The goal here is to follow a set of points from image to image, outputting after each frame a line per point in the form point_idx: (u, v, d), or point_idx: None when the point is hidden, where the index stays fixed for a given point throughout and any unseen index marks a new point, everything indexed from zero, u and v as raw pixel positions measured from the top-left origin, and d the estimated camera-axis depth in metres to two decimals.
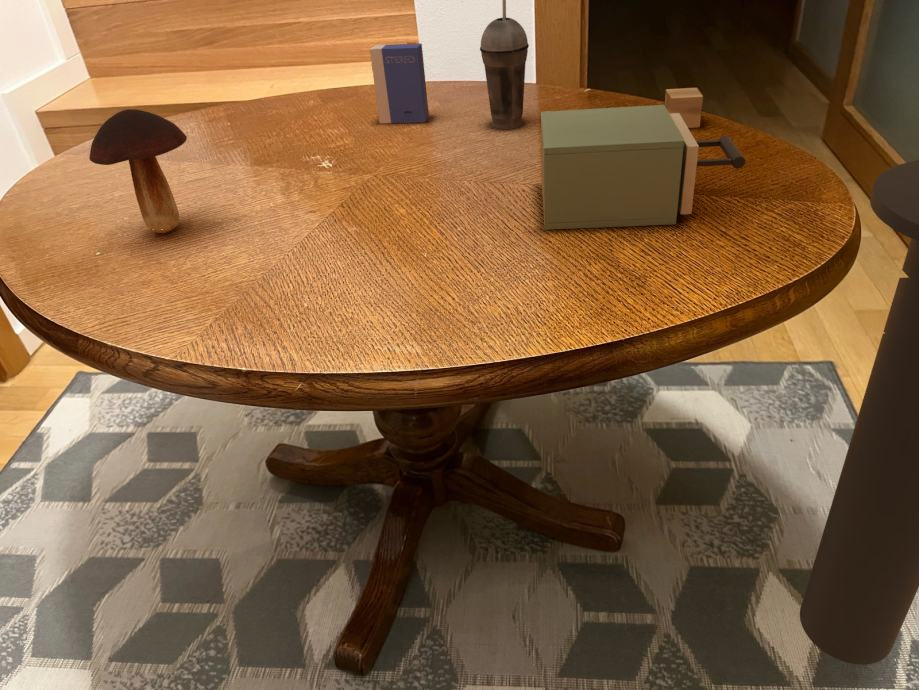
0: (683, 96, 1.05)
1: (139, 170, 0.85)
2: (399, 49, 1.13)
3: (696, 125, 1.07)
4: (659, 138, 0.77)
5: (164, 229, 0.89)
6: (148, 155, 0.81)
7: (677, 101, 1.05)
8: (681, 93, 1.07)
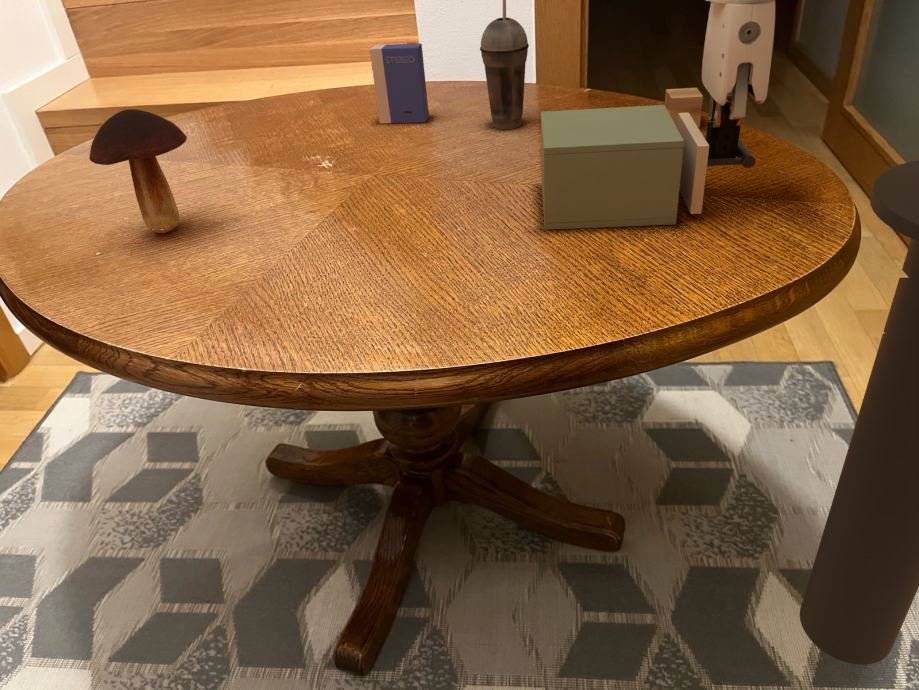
0: (683, 96, 1.05)
1: (139, 170, 0.85)
2: (399, 49, 1.13)
3: None
4: (659, 138, 0.77)
5: (164, 229, 0.89)
6: (148, 155, 0.81)
7: (677, 101, 1.05)
8: (681, 93, 1.07)
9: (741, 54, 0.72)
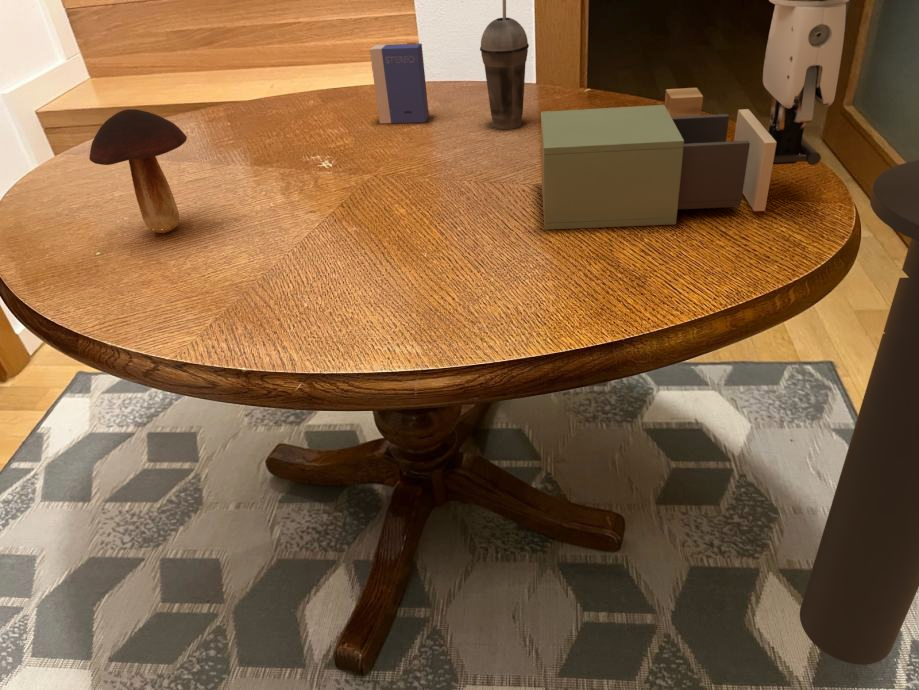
0: (683, 96, 1.05)
1: (139, 170, 0.85)
2: (399, 49, 1.13)
3: None
4: (659, 138, 0.77)
5: (164, 229, 0.89)
6: (148, 155, 0.81)
7: (677, 101, 1.05)
8: (681, 93, 1.07)
9: (810, 57, 0.72)
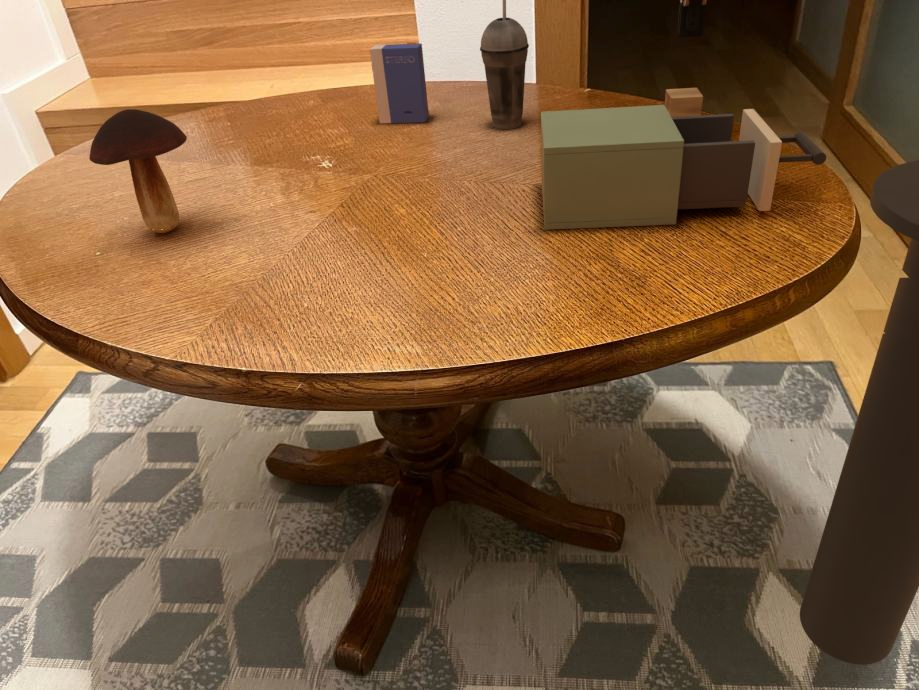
0: (683, 96, 1.05)
1: (139, 170, 0.85)
2: (399, 49, 1.13)
3: None
4: (659, 138, 0.77)
5: (164, 229, 0.89)
6: (148, 155, 0.81)
7: (677, 101, 1.05)
8: (681, 93, 1.07)
9: None
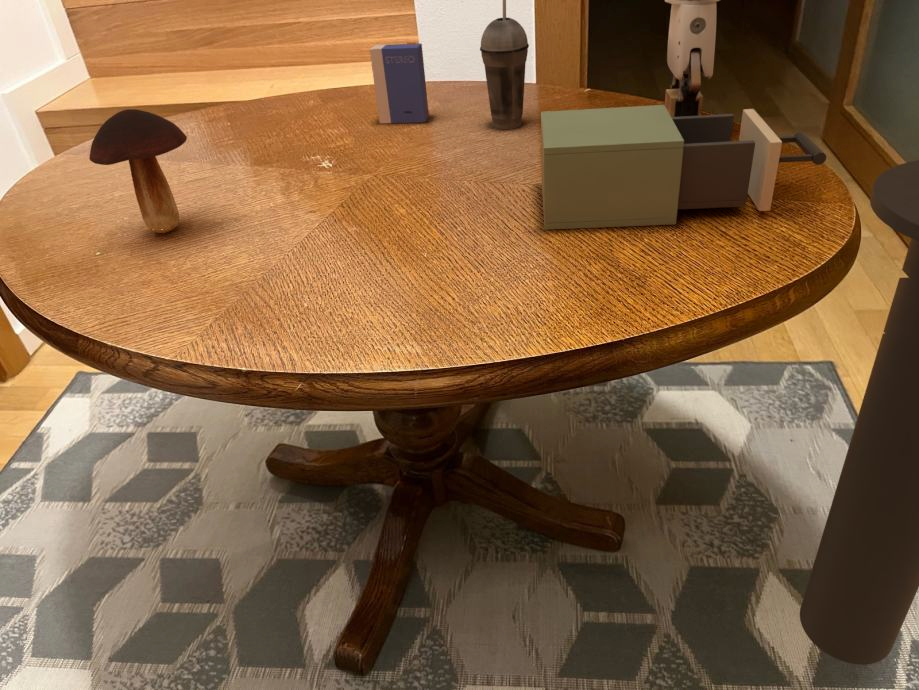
0: None
1: (139, 170, 0.85)
2: (399, 49, 1.13)
3: None
4: (659, 138, 0.77)
5: (164, 229, 0.89)
6: (148, 155, 0.81)
7: None
8: None
9: (692, 41, 0.98)
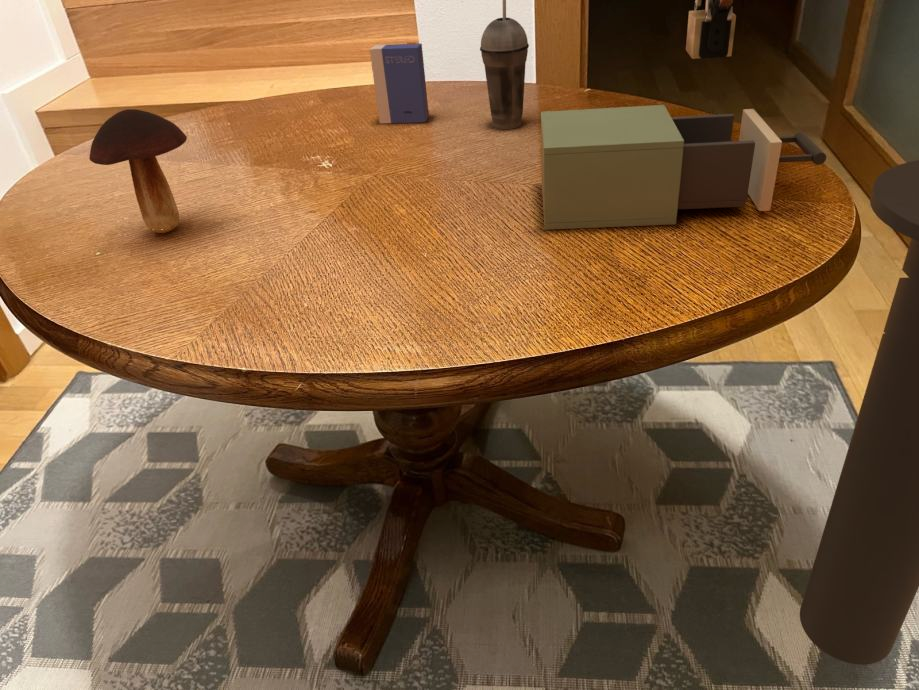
0: None
1: (139, 170, 0.85)
2: (399, 49, 1.13)
3: None
4: (659, 138, 0.77)
5: (164, 229, 0.89)
6: (148, 155, 0.81)
7: None
8: None
9: None
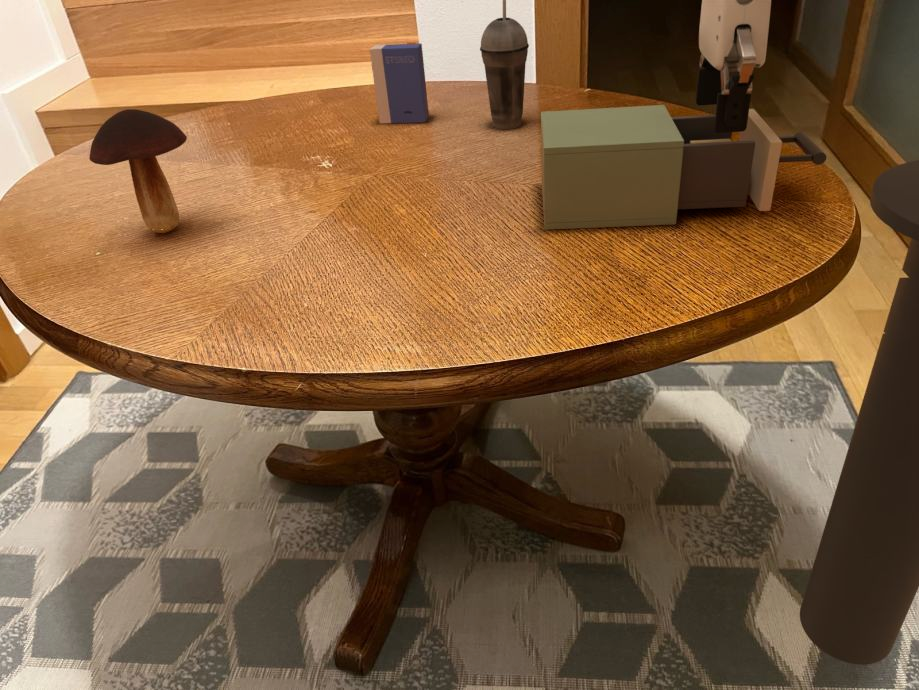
0: None
1: (139, 170, 0.85)
2: (399, 49, 1.13)
3: None
4: (659, 138, 0.77)
5: (164, 229, 0.89)
6: (148, 155, 0.81)
7: None
8: None
9: (738, 15, 0.70)
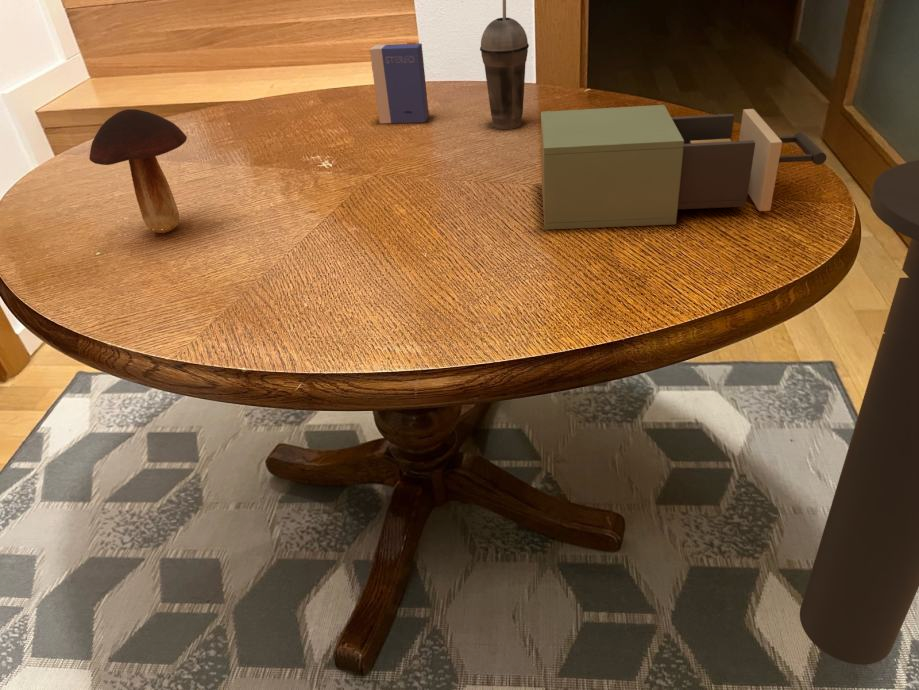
0: None
1: (139, 170, 0.85)
2: (399, 49, 1.13)
3: None
4: (659, 138, 0.77)
5: (164, 229, 0.89)
6: (148, 155, 0.81)
7: None
8: None
9: None
